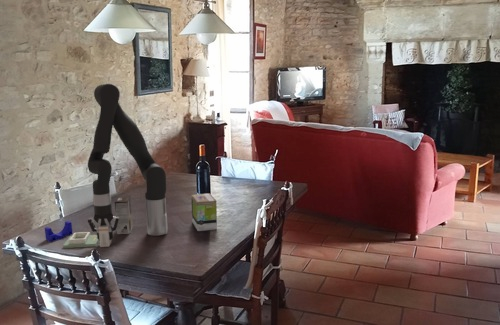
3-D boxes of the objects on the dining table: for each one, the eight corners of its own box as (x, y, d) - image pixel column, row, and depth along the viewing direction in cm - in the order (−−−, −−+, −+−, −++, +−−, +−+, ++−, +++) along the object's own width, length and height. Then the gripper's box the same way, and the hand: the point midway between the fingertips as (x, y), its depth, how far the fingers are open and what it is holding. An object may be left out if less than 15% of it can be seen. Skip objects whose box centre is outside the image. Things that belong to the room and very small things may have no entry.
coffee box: (119, 228, 241) (117, 196, 237) (132, 227, 241) (130, 196, 238) (116, 234, 232) (114, 201, 228) (130, 233, 232) (128, 201, 229)
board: (100, 236, 229) (100, 230, 228) (95, 246, 217) (95, 239, 216) (70, 238, 227) (69, 231, 227) (63, 248, 216) (62, 241, 215)
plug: (111, 241, 222) (110, 223, 220) (109, 246, 216) (107, 227, 214) (102, 242, 222) (100, 223, 220) (99, 247, 216) (98, 227, 214)
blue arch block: (51, 242, 224) (50, 229, 222) (45, 240, 226) (44, 227, 225) (74, 234, 233) (73, 222, 232) (68, 232, 236) (67, 220, 234)
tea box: (217, 229, 236) (216, 200, 233) (197, 231, 234) (196, 202, 231) (211, 220, 251) (210, 192, 248) (191, 222, 248) (190, 194, 245)
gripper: (120, 199, 220) (122, 236, 223) (87, 201, 218) (90, 237, 222) (117, 204, 212) (120, 241, 216) (83, 206, 211) (87, 243, 214)
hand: (105, 239), depth 219 cm, fingers closed on plug, 4 cm apart
